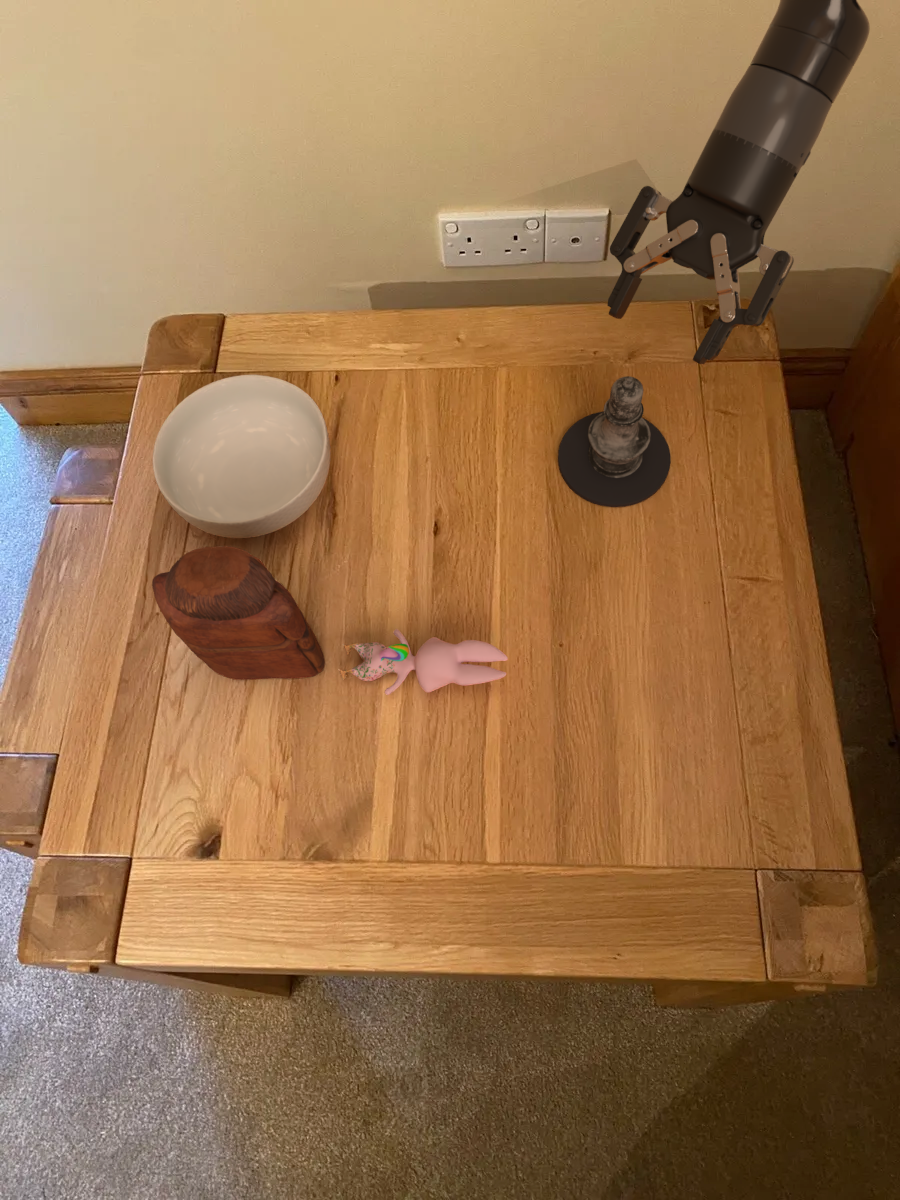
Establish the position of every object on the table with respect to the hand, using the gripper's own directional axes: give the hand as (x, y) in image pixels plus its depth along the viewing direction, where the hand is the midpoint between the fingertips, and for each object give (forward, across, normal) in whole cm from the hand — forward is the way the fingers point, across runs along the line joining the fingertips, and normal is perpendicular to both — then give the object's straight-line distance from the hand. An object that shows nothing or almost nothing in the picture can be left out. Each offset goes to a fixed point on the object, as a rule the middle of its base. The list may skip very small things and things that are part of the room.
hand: (656, 339), depth 77 cm
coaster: (+13, 0, +7) cm, 14 cm away
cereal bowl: (+29, -27, -10) cm, 41 cm away
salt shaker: (+12, 0, +7) cm, 14 cm away
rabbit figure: (+33, -1, -13) cm, 36 cm away
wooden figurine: (+38, -14, -19) cm, 45 cm away
